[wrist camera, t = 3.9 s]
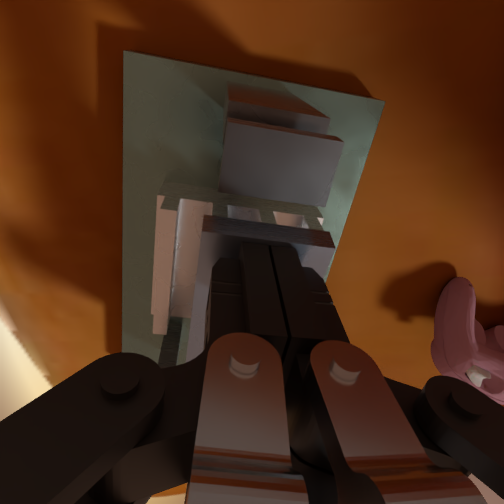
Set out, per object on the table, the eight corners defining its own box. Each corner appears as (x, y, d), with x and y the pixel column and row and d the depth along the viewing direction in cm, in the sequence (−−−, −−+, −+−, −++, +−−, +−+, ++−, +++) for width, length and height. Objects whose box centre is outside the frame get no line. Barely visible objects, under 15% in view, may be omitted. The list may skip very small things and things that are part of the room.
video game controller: (408, 297, 27) (425, 394, 23) (458, 268, 23) (488, 376, 19) (508, 328, 29) (539, 421, 25) (567, 306, 26) (613, 410, 22)
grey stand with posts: (373, 97, 18) (514, 143, 9) (287, 373, 28) (316, 525, 19) (131, 50, 17) (24, 51, 8) (126, 361, 26) (76, 522, 17)
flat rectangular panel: (335, 221, 11) (346, 249, 10) (252, 432, 19) (252, 461, 18) (194, 201, 10) (189, 229, 9) (171, 428, 18) (167, 457, 17)
